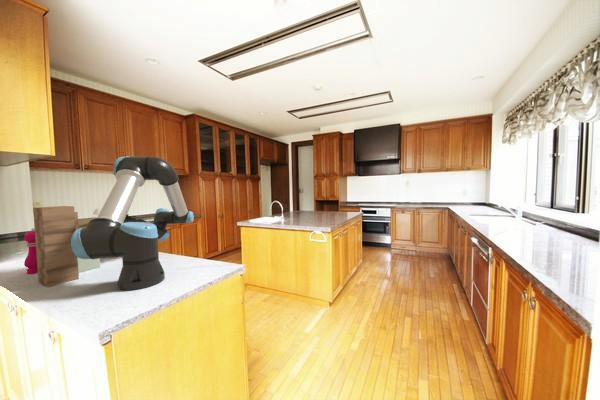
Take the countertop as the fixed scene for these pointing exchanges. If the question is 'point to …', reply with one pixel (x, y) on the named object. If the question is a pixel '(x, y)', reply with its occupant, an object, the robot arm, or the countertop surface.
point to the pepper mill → (31, 253)
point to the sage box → (87, 262)
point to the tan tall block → (81, 221)
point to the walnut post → (55, 245)
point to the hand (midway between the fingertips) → (101, 211)
